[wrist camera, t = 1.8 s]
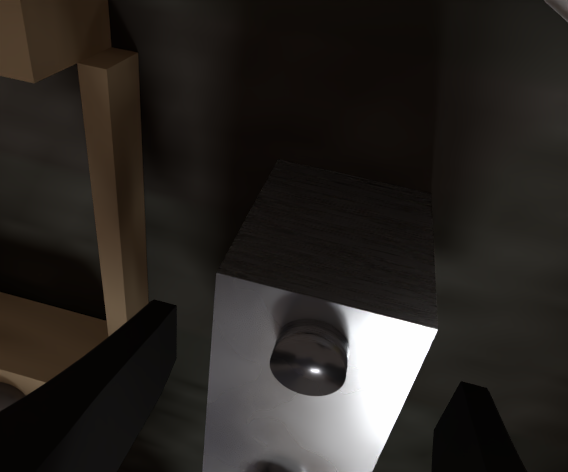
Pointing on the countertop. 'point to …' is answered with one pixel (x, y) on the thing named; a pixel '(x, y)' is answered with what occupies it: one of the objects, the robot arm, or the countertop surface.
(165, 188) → the countertop surface
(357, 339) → the white box with knobs
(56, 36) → the wooden frame
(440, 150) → the countertop surface
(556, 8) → the medicine bottle
